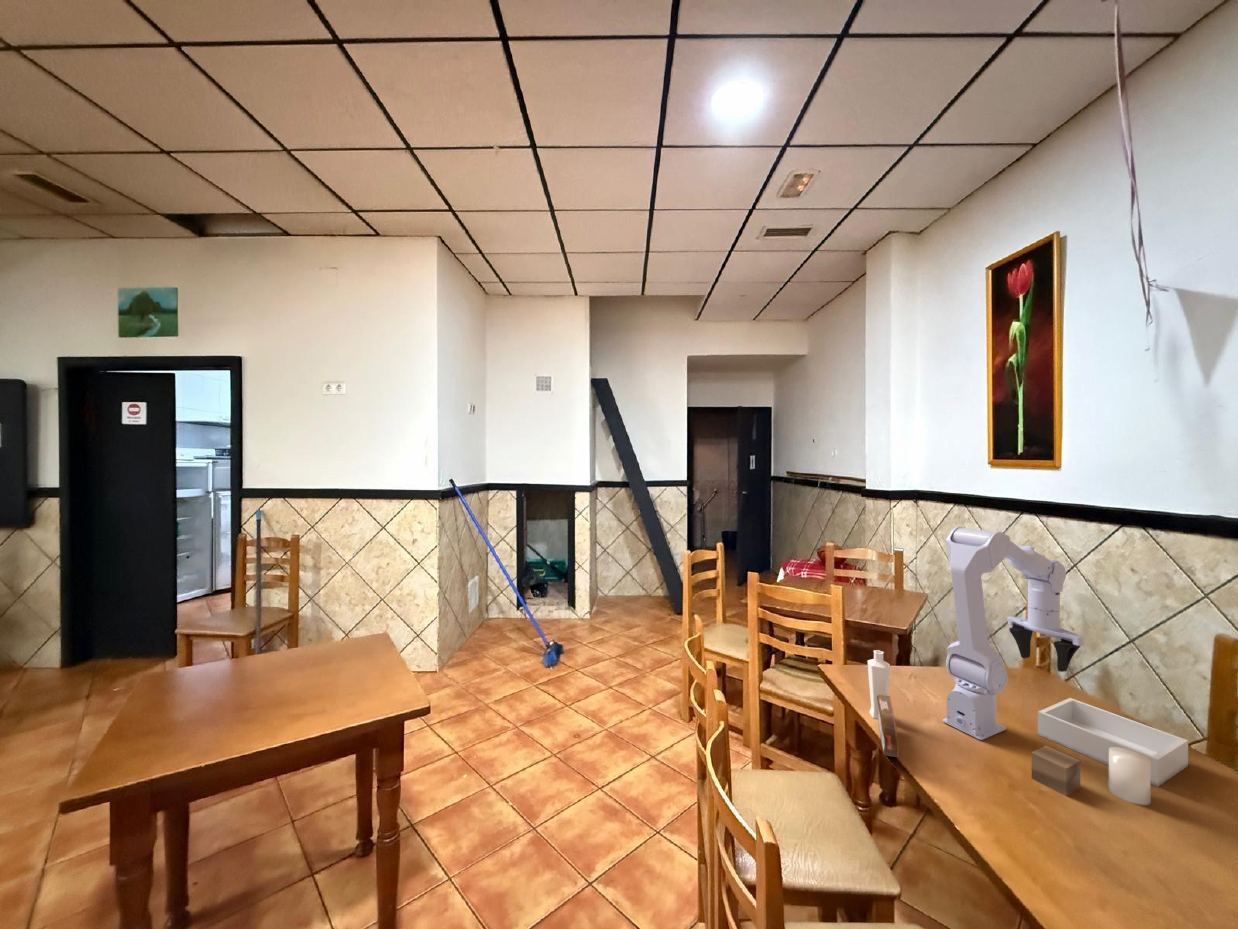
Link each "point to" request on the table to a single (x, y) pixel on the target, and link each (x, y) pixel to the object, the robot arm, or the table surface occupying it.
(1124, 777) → the ceramic cylinder
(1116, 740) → the tote
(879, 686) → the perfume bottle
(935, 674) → the table surface
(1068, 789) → the walnut cube
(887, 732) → the tin
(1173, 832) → the table surface
